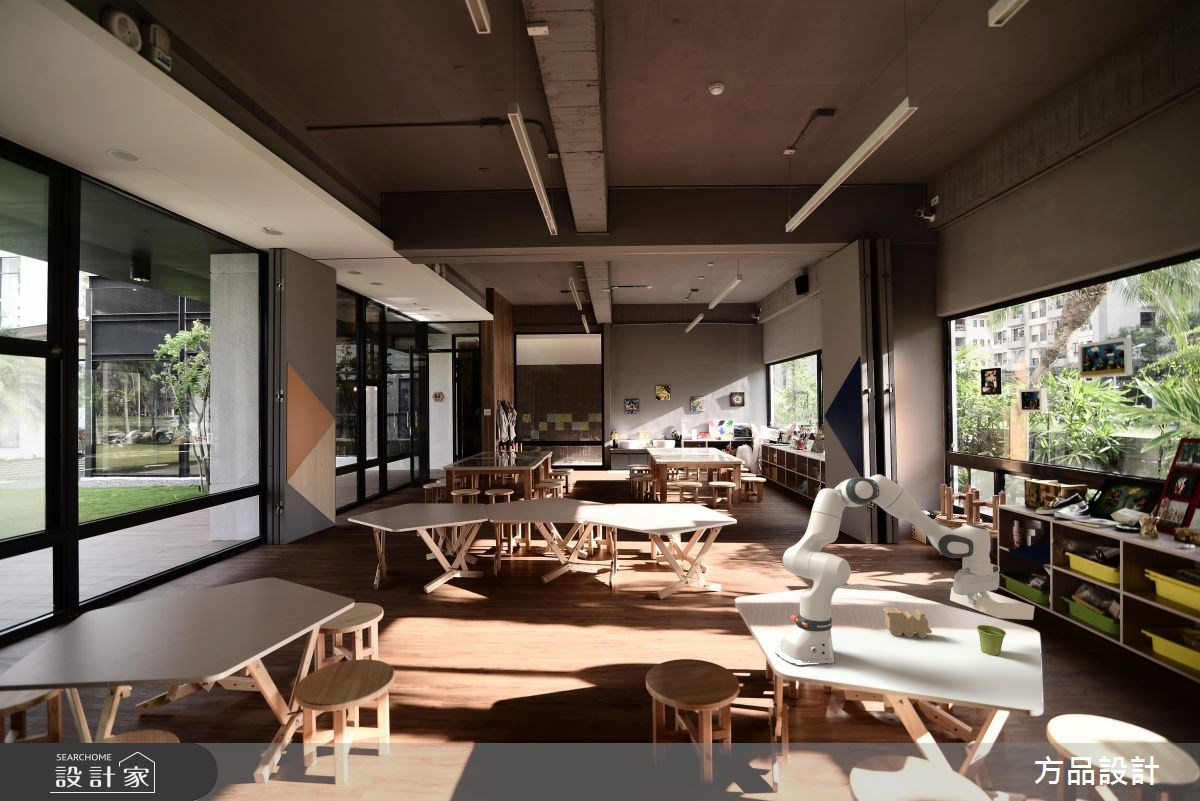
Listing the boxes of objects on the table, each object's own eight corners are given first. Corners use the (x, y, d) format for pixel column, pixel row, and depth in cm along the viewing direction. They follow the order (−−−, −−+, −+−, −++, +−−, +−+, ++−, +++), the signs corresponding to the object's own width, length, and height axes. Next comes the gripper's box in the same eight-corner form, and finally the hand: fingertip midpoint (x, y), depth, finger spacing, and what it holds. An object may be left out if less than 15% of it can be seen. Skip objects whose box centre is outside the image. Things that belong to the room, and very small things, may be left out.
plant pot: (1004, 650, 221) (1004, 628, 221) (1007, 660, 213) (1007, 637, 213) (975, 644, 226) (975, 623, 226) (976, 654, 218) (977, 631, 218)
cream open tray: (998, 617, 207) (1000, 604, 207) (949, 600, 224) (951, 587, 225) (1032, 619, 213) (1034, 606, 214) (983, 602, 231) (984, 589, 231)
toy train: (931, 639, 231) (932, 614, 231) (886, 636, 234) (887, 611, 233) (926, 633, 236) (926, 609, 236) (882, 630, 239) (882, 606, 239)
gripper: (964, 572, 209) (964, 610, 210) (1002, 566, 217) (1002, 602, 217) (948, 567, 215) (948, 604, 215) (986, 562, 222) (986, 597, 223)
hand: (975, 603), depth 216 cm, fingers closed on cream open tray, 2 cm apart
